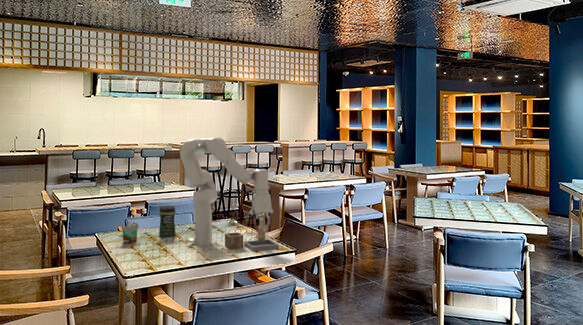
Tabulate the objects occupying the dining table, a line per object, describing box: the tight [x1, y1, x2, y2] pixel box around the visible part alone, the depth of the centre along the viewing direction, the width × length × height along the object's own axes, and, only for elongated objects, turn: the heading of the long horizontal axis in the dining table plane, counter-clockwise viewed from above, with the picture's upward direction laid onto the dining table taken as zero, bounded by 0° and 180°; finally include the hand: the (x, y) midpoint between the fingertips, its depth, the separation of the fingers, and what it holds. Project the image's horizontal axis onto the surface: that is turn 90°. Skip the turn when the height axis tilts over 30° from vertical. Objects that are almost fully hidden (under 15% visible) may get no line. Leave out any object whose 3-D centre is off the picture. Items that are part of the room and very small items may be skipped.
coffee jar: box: [158, 205, 176, 238], centre depth 286 cm, size 10×8×19 cm
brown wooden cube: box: [224, 232, 244, 251], centre depth 257 cm, size 8×8×8 cm
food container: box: [121, 222, 140, 244], centre depth 272 cm, size 12×6×10 cm, turn 168°
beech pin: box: [257, 214, 266, 241], centre depth 257 cm, size 4×4×14 cm
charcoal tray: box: [243, 238, 280, 252], centre depth 258 cm, size 15×14×3 cm
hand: (261, 224), depth 257 cm, fingers closed on beech pin, 4 cm apart
